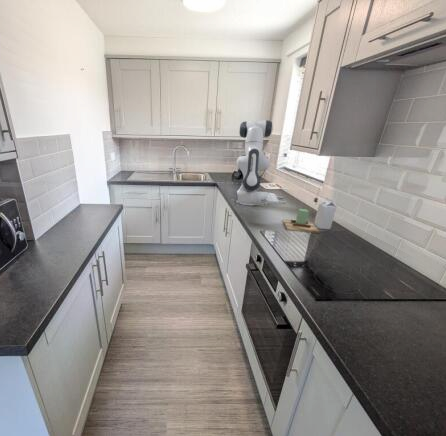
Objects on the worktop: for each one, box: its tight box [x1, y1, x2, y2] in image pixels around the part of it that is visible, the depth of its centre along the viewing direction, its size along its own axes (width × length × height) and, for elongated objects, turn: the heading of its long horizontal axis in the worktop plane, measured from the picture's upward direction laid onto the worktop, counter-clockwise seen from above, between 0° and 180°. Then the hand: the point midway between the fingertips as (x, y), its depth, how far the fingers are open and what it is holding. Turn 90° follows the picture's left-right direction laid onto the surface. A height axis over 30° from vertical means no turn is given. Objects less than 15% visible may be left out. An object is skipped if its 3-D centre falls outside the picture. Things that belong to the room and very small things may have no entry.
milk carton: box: [313, 197, 337, 230], centre depth 146 cm, size 7×7×19 cm
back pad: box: [295, 208, 310, 224], centre depth 146 cm, size 4×5×10 cm
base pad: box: [282, 218, 320, 234], centre depth 148 cm, size 16×18×3 cm
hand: (284, 200), depth 146 cm, fingers open, 8 cm apart
